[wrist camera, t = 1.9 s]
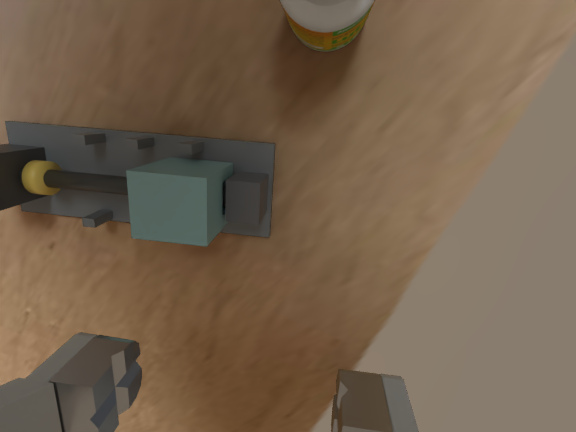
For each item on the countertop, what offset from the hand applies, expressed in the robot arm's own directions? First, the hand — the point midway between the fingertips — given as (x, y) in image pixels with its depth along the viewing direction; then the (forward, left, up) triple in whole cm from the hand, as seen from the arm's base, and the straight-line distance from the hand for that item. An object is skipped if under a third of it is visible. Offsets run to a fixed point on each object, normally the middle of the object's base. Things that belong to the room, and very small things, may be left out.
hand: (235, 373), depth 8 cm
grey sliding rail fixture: (0, -13, -19) cm, 23 cm away
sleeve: (0, -8, -18) cm, 20 cm away
